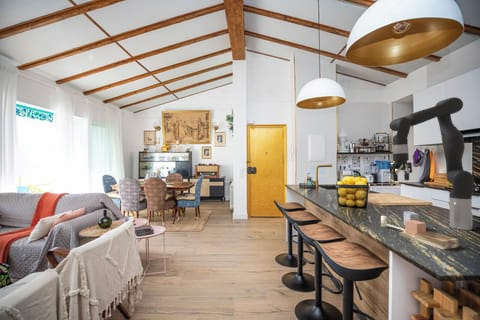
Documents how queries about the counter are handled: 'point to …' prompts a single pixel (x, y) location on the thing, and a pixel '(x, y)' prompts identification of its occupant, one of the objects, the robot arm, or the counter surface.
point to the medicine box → (410, 216)
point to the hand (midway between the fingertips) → (401, 180)
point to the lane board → (433, 239)
